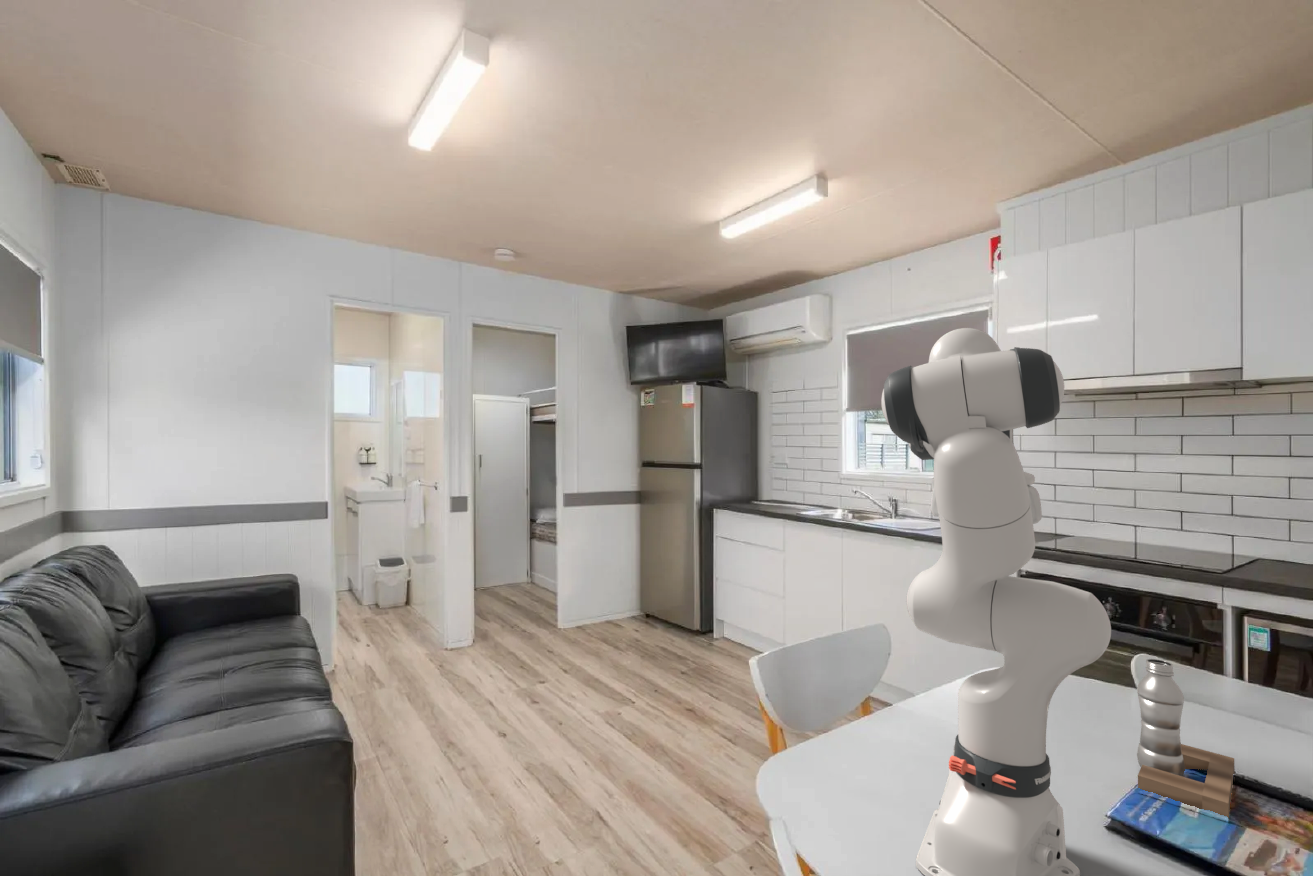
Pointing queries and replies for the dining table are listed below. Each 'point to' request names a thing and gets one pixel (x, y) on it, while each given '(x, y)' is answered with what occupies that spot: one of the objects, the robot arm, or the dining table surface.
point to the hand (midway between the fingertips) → (983, 542)
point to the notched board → (1190, 791)
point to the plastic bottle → (1160, 719)
